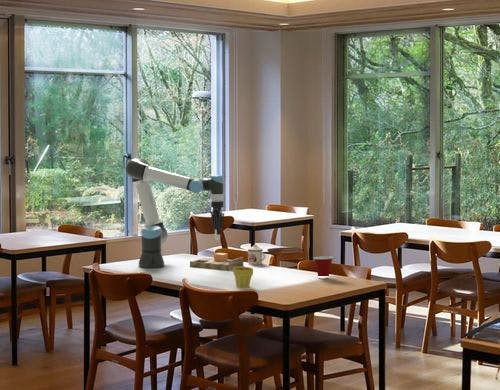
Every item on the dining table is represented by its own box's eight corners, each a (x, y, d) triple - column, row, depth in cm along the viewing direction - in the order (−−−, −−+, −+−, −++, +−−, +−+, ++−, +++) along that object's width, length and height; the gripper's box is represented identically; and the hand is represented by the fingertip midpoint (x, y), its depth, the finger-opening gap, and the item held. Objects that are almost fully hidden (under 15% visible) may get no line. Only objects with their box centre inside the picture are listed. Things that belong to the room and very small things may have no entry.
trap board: (189, 266, 545) (189, 257, 545) (204, 262, 560) (204, 253, 560) (229, 270, 533) (229, 260, 533) (243, 266, 548) (243, 257, 548)
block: (213, 260, 549) (214, 254, 549) (218, 259, 554) (218, 252, 554) (222, 261, 546) (222, 254, 546) (227, 260, 552) (227, 253, 551)
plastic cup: (319, 275, 518) (320, 254, 517) (336, 277, 512) (336, 256, 511) (309, 278, 509) (309, 256, 508) (326, 280, 503) (326, 258, 502)
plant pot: (255, 288, 478) (255, 269, 477) (236, 289, 475) (236, 270, 474) (249, 284, 488) (249, 266, 487) (230, 285, 485) (231, 267, 484)
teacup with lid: (244, 263, 558) (244, 244, 557) (253, 262, 565) (254, 243, 564) (260, 265, 550) (260, 246, 549) (269, 264, 557) (269, 245, 556)
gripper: (228, 201, 547) (228, 240, 549) (217, 199, 558) (217, 238, 560) (217, 201, 543) (217, 241, 545) (206, 200, 554) (206, 239, 556)
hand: (217, 239), depth 553 cm, fingers closed
